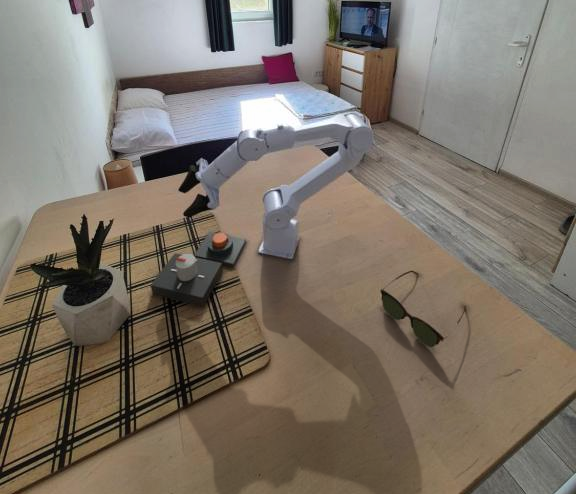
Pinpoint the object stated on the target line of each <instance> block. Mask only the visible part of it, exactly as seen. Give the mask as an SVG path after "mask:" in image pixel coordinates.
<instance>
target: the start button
mask: <svg viewBox="0 0 576 494" xmlns="http://www.w3.org/2000/svg"><path fill="white" fill-rule="evenodd" d="M225 234H226V233H225ZM225 234H223V232H220V233H217V234H216V235H215V236H214V237H213V245H214V246H215V247H217V248H220V247H224V246H225V245H226V244H227V236H226V235H225Z"/></svg>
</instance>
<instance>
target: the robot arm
mask: <svg viewBox="0 0 576 494" xmlns="http://www.w3.org/2000/svg"><path fill="white" fill-rule="evenodd" d="M326 138H327V139H328V138H331V139H332V140H334V141H336V142H338V150H337V151H336V152H334V153H333V154H332V155H330V156H329V157H328V158H326V159H325V160H324V161H322V162H320V163H319V164H317V165H316V166H315V167H313V168H312V169H311V170H309V171H308V172H306V173H305V174H303V175H301V176H300V177H299V178H298V179H296V180H295V181H294V182H292V183H291V184H289V185H288V184H281V185H279V186H278V187H275V188H271V189H269V190H267V191H266V192H265V193H263V196H262V202H263V207H264V209H263V210H264V214H263V215H262V240H261V241H262V242H261V244H260V245H259V248H258V251H257V252H258V253H259V254H263V255H268V256H272V257H273V256H274V257H278V258H283V259H288V260H293V259H294V256H295V254H296V250H297V247H298V244H299V241H300V238H299V227H300V225H299V220H296V219H294V218H296V216H297V215H298V212H299V210H300V208H301V204H303V203H304V202H305V201H307V200H309V199H310V198H312V197H313V196H314V195H316V194H317V193H318V192H320V191H321V190H323V189H325V188H326V187H328V186H329V185H330V184H332V183H333V182H335V181H336V180H337V179H339V178H340V177H342V176H343V175H345V174H346V173H348V172H349V171H350V170H352V169H354V168H355V167H356V166H358V164H359V163H360V162H361V161H362V159H363V157H364V156H365V155H366V153H367V152H369V151H370V150H372V149H373V148H374V141H375V133H374V131H373V129H372V128H371V127H369V126H368V125H367V124H366V123H365V121H364V120H363V119H362V118H361V117H360V115H359V114H358V113H356V112H352V111H351V112H350V111H349V112H346V113H337V114H336V115H334V116H332V117H330V118H326V119H322V120H318V121H314V122H312V123H311V122H310V123H308V124H304V125H300V126H296V127H292V126H291V125H289V124H283V122H281V123H277V124H276V126H273V127H268V128H263V129H262V128H256V129H252V128H248V129H245V130H241V131H240V132H239V133H238V135H237V140H236V141H235V142H234V143H232V144H231V145H230V146H228V147H227V148H226V149H225V150H224V151H223V152H222V153H221V154H220V155H219V156H217V157H216V158H215V159H214V160H213V161H212V162H211V163H210V164H209V163H208V160H206V159H204V158H203V157H201V158H200V159H199V160H197V161H196V165H192V164H191V165H190V166H189V167H188V172H187V173H186V176H185V177H184V180H183V181H182V183H181V184H180V186H179V187H178V192H180V193H182V194H187V193H188V192H190V191H191V190H192V189H193V188H195V187H196V186H198V185H199V184H201V186H202V187H203V190H204V191H205V194H206V195H203V194H201V193H197V194H196V196H195V199H194V200H193V202H192V203H191V204H190V205H188V207H187V208H186V209H185V210H184V212H183V213H182V215H183V217H186V218H188V219H191V218H192V217H194V216H196V215H199V214H201V213H204V212H208V211H214V210H216V209H217V208H218V207H219V206H220V205H221V203H220V188H221V187H222V186H223V185H224V184H226V182H228V181H229V180H230V179H231V178H232V177H233V176H235V175H236V174H237V173H238V172H239V171H240V170H242V169H243V168H244V167H245V166H246V165H247V164H248V163H249V162H257V161H258V160H260V159H262V157H263V156H264V155H267V154H270V153H271V154H272V153H276V152H279V151H280V152H281V151H285V150H290V149H293V147H295V145H296V144H297V143H301V142H306V141H307V142H308V141H314V140H320V139H326Z"/></svg>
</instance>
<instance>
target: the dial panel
mask: <svg viewBox="0 0 576 494" xmlns="http://www.w3.org/2000/svg"><path fill="white" fill-rule="evenodd" d="M181 255H183V254H181V253H178V252H177V253H176V252H174V253H173V255H172V256H171V257H170V258H169V260H167V263H166V264H165V265H164V266H163V268H162V269H161V271H160V272H159V273H158V275H157V276H156V277H155V278H154V280H153V281H152V283H151V284H150V290H151V293H152V295H154V296H157V297H162V298H166V299H169V300H174V301H178V302H183V303H186V304H189V305H194V306H198V307H202V308H205V306H206V304H207V302H208V300H209V298H210V297H211V294H212V293H213V291H214V289H215V287H216V285H217V284H218V282H219V280H220V278H221V276H222V274H223V273H224V272H223V271H224V270H223V265H222V263H219V262H215V261H210V260H205V259H201V258H196V257H195V260H196V267H197V274H196V276H195V277H194V278H193V279H191V280H189V281H182V280H180V279H179V278H178V274H177V269H176V260H177V257H180V256H181Z"/></svg>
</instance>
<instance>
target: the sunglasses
mask: <svg viewBox="0 0 576 494" xmlns="http://www.w3.org/2000/svg"><path fill="white" fill-rule="evenodd" d="M411 273H413V274H415V275H416V276H418V275H419V273H417V272H416V271H414V270H409V271H406V272H404V273H402V274H400V275H399V276H397V277H395V278H394V279H392V280H391V281H390V282H388V283H387V284H386V285H384V287H382V288H381V289H380V294H381V299H380V300H381V302H382V303H381V304H382V308H383V310H384V311H385V312H386V313H387V314H388V315H389V316H390V317H391V318H392V319H394V320H396V321H400V320H405V318H406V317H407V318H408V319H409V320H410V326H411V328H412V331H413V334H414V336H415V337H416V338H417V339H418V340H419V341H420V342H421V343H422V344H423V345H425V346H426V347H428V348H434V347H435V346H438V345H439V343H440V342H444V340H445V339H446V338H448V336H449V335H451V333H452V332H453V331H454V330H455V329H456V327H457V326H458V325H459V323H460V321H461V320H462V318H463V316H464V314H465V312H466V309H467V306H466V305H463V308H464V309H463V312H462V314H461V315H460V318H459V319H458V321H457V322H456V324H455V326H454V327H453V328H452V329H451V331H449V332H448V333H447V334H446V335H445V336H443V335H442V334H441V333H440V332H439V331H437V330H436V329H435V327H433V326H431V324H429V323H428V322H426V321H425V320H423V319H421V318H419V317H418V316H413V315H411V314H410V313H409V312H408V311H407V309H406V307H404V306H403V304H402V303H401V302H400V301H399V300H398V299H397V298H396V297H395V296H393V295H392V294H390V293H389V292H387V290H385V289H386V288H387V287H388V286H389V285H391V284H392V283H393V282H394V281H396V280H398V279H400V278H402V277H403V276H405V275H408V274H411Z"/></svg>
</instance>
